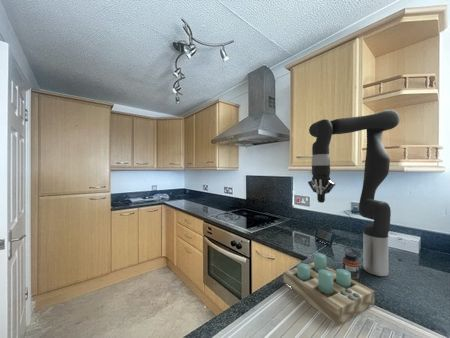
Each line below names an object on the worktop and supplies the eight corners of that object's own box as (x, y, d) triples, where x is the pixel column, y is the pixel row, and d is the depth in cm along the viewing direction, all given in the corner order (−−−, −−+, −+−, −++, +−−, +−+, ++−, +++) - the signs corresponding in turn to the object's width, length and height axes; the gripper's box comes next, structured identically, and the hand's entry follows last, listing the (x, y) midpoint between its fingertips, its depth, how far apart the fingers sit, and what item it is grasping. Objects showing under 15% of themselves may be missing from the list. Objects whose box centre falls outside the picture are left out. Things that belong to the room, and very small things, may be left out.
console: (316, 271, 90) (316, 260, 90) (374, 304, 68) (374, 289, 68) (283, 283, 81) (283, 271, 81) (338, 325, 60) (338, 308, 60)
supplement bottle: (344, 274, 88) (343, 249, 88) (359, 279, 84) (359, 253, 84) (341, 280, 83) (341, 254, 83) (358, 285, 79) (358, 258, 79)
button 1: (303, 276, 81) (302, 262, 81) (312, 282, 77) (312, 267, 77) (294, 279, 79) (294, 264, 79) (303, 285, 75) (303, 270, 75)
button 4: (341, 282, 77) (341, 267, 77) (353, 289, 72) (353, 273, 72) (333, 285, 75) (333, 270, 75) (345, 293, 70) (345, 276, 70)
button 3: (324, 283, 72) (324, 268, 72) (336, 291, 68) (336, 274, 68) (315, 287, 70) (315, 271, 70) (327, 295, 66) (327, 278, 66)
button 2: (319, 265, 86) (319, 252, 86) (329, 270, 81) (329, 256, 81) (311, 268, 84) (311, 254, 84) (321, 273, 79) (321, 259, 79)
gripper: (340, 164, 84) (340, 203, 84) (314, 164, 96) (314, 199, 96) (328, 164, 80) (328, 205, 81) (303, 164, 92) (303, 200, 93)
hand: (321, 202), depth 88 cm, fingers closed
